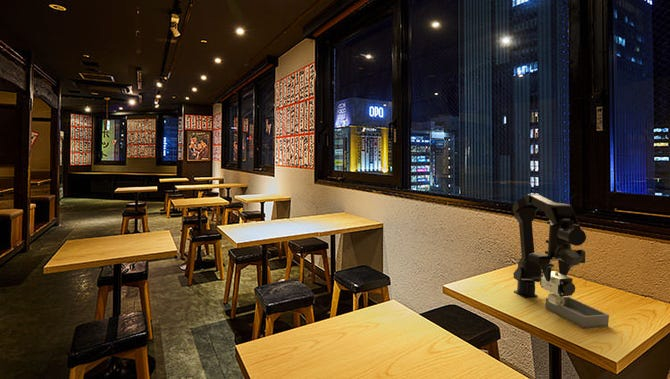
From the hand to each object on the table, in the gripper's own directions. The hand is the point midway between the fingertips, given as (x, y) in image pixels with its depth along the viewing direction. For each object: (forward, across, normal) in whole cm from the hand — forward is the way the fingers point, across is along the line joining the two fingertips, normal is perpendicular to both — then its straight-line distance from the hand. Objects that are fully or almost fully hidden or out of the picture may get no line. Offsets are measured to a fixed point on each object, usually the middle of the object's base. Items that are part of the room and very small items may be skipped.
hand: (555, 280), depth 124 cm
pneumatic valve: (+9, +1, 0) cm, 9 cm away
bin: (+13, +7, -2) cm, 15 cm away
